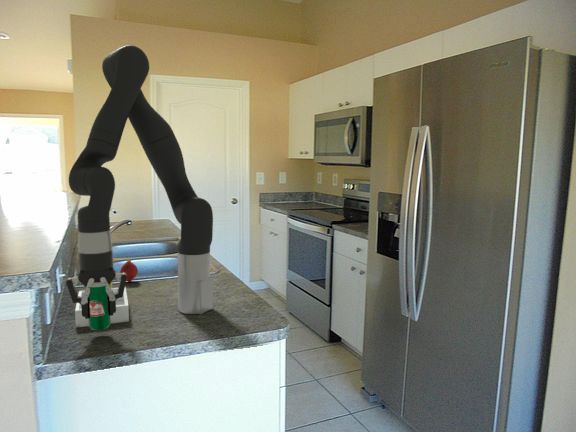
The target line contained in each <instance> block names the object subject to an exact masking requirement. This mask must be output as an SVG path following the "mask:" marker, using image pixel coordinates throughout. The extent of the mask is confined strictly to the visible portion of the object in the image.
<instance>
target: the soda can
mask: <svg viewBox="0 0 576 432" xmlns="http://www.w3.org/2000/svg"><path fill="white" fill-rule="evenodd" d="M106 286H107V285H106ZM106 286H105V285H104V284H102V283H101V281H99V282H94V283H93V285H92V286H91V287H89V288H90V294H89V296H88V299H87V303H88V321H89V326H88V327H89V329H90V330H92V331H102V330H105V329H108V328H109V327H110V326H111V325H112V323H111V317H110V298H109V296H108V294H107V292H106Z"/></svg>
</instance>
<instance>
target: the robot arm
mask: <svg viewBox="0 0 576 432" xmlns="http://www.w3.org/2000/svg"><path fill="white" fill-rule="evenodd" d="M101 68H102V73H103V76H104V78H105V81H106V82H107V84H108V85H109V87H110V89H111V90H110V91H109V94H108V95H107V98H106V100H105V102H103V105H102V107H101V108H100V109H99V111H98V113H97V115H96V117H95V119H94V121H93V123H92V126H91V129H90V132H89V135H88V139H87V141H86V145H85V147H84V148H83V150H82V151H81V153H80V154H79V155H78V157H77V159H76V161H74V163H73V165H72V167H71V169H70V171H69V174H68V186H69V188H70V190H71V192H73V193H74V194H75V195H78V196H85V197H89V201H88V203H87V204H88V205H85V206H82V207H80V208H78V211H77V225H78V226H77V228H78V238H77V249H78V250H77V251H78V264H79V273H78V275H77V276H74V277H70V276H69V277H67V278H66V286H67V289H68V293H69V295H70V298H71V301H72V303H74V304H77V303H80V304H81V308H82V316H83V317H85V319H88V303H87V299H88V296H89V294H90V288H89V287H91V286H92V285H93V283H94V282H99V281H101V283H102V284H104V285H105V286H106V285H107V286H106V292H107V294H108V296H109V298H110V316H112V315H113V313H115V312H116V300H117V299H118V298H122V297H123V294H124V288H125V287H126V282H127V281H126V278H127V275H126V273H125V272H123V273H120V272H116V270H115V269H114V257H113V255H114V254H113V240H112V233H111V223H110V221H111V220H110V212H111V207H112V203H113V199H114V196H115V195H114V194H115V189H116V182H115V177H114V175H113V172H112V171H111V170H110V169H109V168H107V167H105V166H103V165H105V164H106V163H108V162H112V161H113V160H114V159H115V158H116V156H117V152H118V150H119V146H120V143H121V140H122V136H123V133H124V130H125V127H126V124H127V121H128V120H129V122H130V125H131V126H132V128H133V131H134V132H135V134H136V136H137V139H138V140H139V143H140V145H141V146H142V150H143V151H144V154H145V155H146V157H147V160H148V161H149V163H150V165H151V167H152V169H153V171H154V172H155V175H156V176H157V178H158V179H159V181H160V183H161V184H162V186H163V188H164V190H165V192H166V195H167V198H168V201H169V204H170V206H171V209H172V212H173V215H174V218H175V219H176V221H177V222H178V223H179V225H180V238H179V239H180V240H179V242H178V243H177V298H178V299H177V300H178V301H177V303H178V307H177V308H178V311H179V312H180V313H182V314H186V315H187V314H188V315H203V314H204V313H206V312H208V311H211V310H213V309H214V278H213V276H211V245H212V242H213V232H214V231H213V230H214V229H213V228H214V226H213V225H214V214H213V213H214V212H213V209H212V205H211V204H210V203H209V202H208V201H207V200H206V199H204V198H202V197H199V196H198V195H197V194H196V193H197V192H196V191H195V190H194V189H193V186H192V185H191V183H190V181H189V180H190V179H188V175H187V172H186V168H185V161H184V156H183V152H182V149H181V146H180V144H179V142H178V139H177V136H176V135H175V132H174V130H173V128H172V127H171V124H169V122H167V120H166V119H165V118H163V116H162V115H161V114H160V113H158V112H157V110H155V108H154V107H153V106H151V104H150V103H149V101H148V100H147V98H146V97H145V95H144V92H143V90H142V87H143V85H144V83H145V82H146V80H147V79H146V78H147V77H148V75H149V72H150V62H149V59H148V56H147V55H146V53H145V52H144V51H143V50H142V49H141V48H140V47H138V46H136V45H133V44H132V45H130V44H128V45H124V46H122V47H118V49H115V50H113V51H112V52H110V53H109V54H107V55H106V56H105V57H104V59H103V61H102V66H101ZM115 278H116V281H117V282H118V283H119V284H118V287H117V288H118V292H116V293H114V292H113V290H112V288H111V286H110V283H111V282H112V283H113V281H114V279H115ZM78 282H80V284H82V285H83V286H84V289H83V291H84V292H83V295H82V297H80V296H78V292H77V288H76V286H77V285H78Z"/></svg>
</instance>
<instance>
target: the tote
mask: <svg viewBox="0 0 576 432" xmlns="http://www.w3.org/2000/svg"><path fill="white" fill-rule="evenodd" d="M118 288H119V287H113V288H112V290H113V292H114V293H116V292H118ZM83 292H84V290H79V291H78V293H77V295H78V296H80V297H82V295H83ZM75 304H76V305H75V310H74V316H75V317H74V318H75V328H82V327H89V321H88V319H85V317H83V316H82V308H81V304H80V303H75ZM129 310H130V309H129V301H128V294H127V287H126V286H125V288H124V294H123V297H122V298H118V299H117V300H116V312H115V313H113V315H112V316H110V317H111V324H118V323H127V322H129V321H130V316H129Z"/></svg>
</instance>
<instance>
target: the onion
mask: <svg viewBox="0 0 576 432" xmlns="http://www.w3.org/2000/svg"><path fill="white" fill-rule="evenodd" d="M119 271H120V272H119V273H123V272H125V273H126V275H127V278H126V282H132V281H133V280H134V279H135V278H137V276H138V267H137V265H136V264H135V263H133V262H132V260H131V259H128V260H127V261H126V262H124V264H123V265H122V266H121V267H120V270H119Z"/></svg>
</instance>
